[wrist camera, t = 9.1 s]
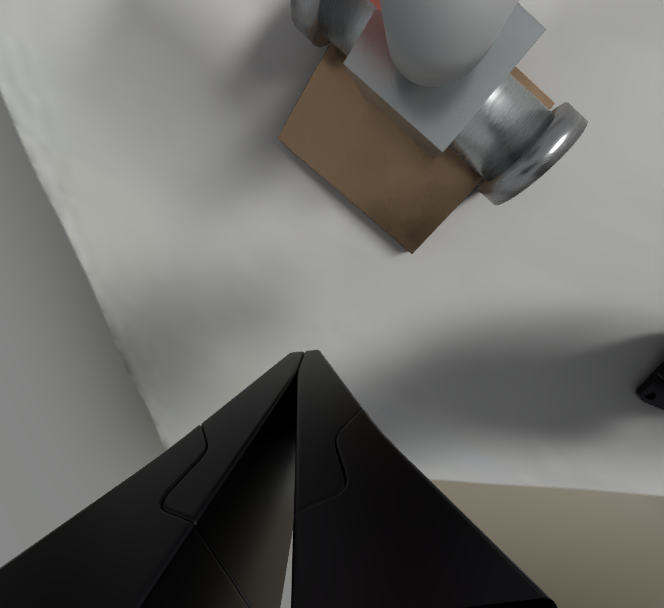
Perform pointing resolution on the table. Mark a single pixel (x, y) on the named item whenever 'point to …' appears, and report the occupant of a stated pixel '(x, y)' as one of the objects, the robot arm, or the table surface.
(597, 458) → the table surface
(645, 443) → the table surface
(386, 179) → the valve
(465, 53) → the lever
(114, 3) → the table surface
